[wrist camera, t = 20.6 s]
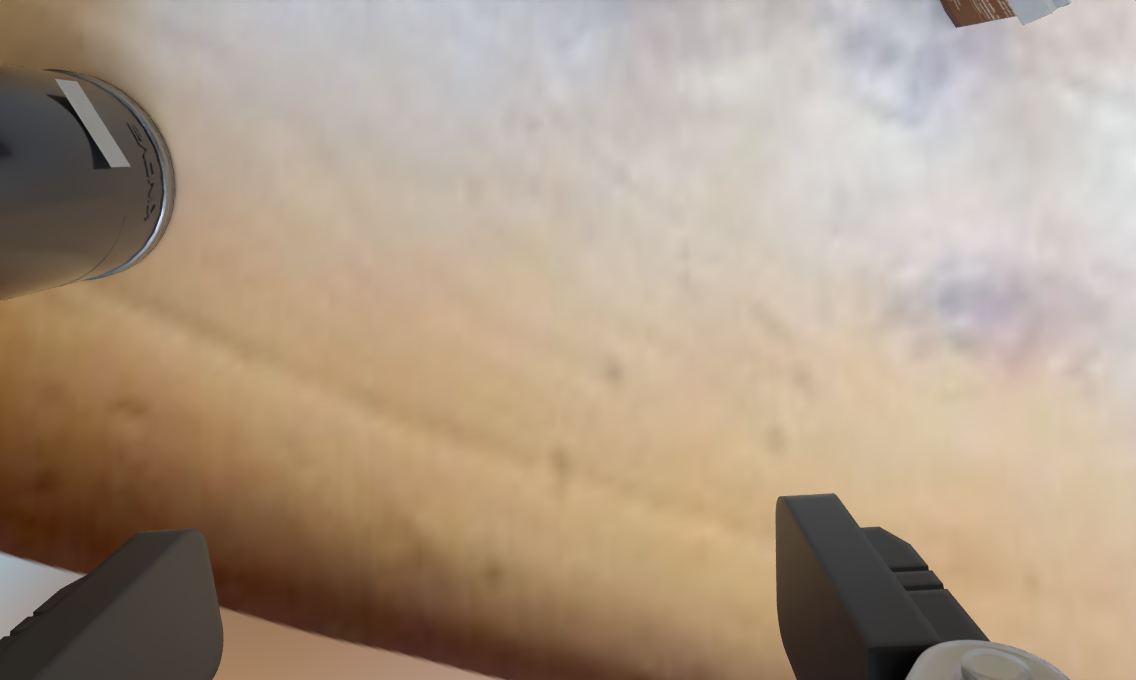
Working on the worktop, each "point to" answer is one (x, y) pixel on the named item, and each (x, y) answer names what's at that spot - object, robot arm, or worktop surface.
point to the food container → (998, 10)
